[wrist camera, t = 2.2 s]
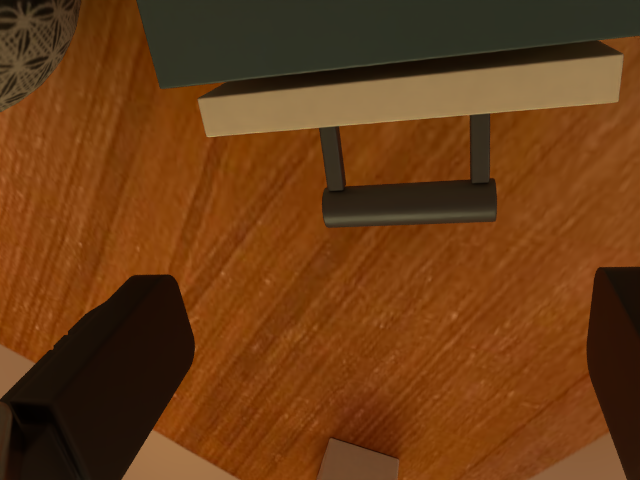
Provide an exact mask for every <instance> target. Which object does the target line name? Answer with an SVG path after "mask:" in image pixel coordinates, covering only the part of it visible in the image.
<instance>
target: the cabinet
mask: <svg viewBox="0 0 640 480" xmlns="http://www.w3.org/2000/svg"><path fill="white" fill-rule="evenodd" d="M136 1H137V4H138V8H139V12H140V16H141V19H142V23H143V27H144V30H145V34H146V38H147V41H148V45H149V49H150V53H151V56H152V60H153V64H154V67H155V71H156V75H157V78H158V82H159V86H160V88H161V89H167V88H176V87H185V86H194V85H203V84H211V83H220V82H229V81H238V80H247V79H256V78H265V77H274V76H283V75H292V74H301V73H310V72H319V71H328V70H337V69H346V68H355V67H363V66H372V65H381V64H390V63H399V62H408V61H417V60H426V59H435V58H444V57H453V56H462V55H471V54H480V53H489V52H498V51H507V50H516V49H524V48H533V47H542V46H551V45H560V44H569V43H578V42H587V41H596V40H605V39H614V38H623V37H632V36H640V0H136Z"/></svg>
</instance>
